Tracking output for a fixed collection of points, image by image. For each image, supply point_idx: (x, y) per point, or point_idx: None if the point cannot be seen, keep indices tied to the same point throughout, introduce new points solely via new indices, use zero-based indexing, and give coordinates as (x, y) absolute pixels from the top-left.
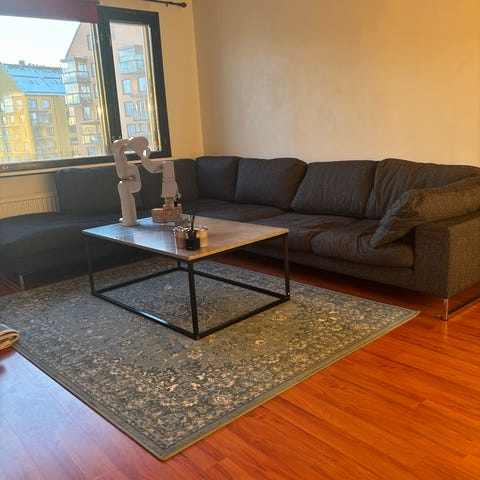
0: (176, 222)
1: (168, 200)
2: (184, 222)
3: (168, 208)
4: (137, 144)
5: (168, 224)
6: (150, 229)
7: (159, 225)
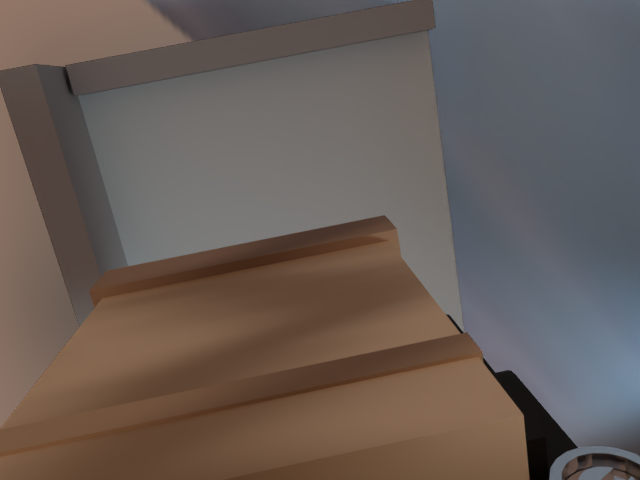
0: (2, 92)
1: (261, 450)
2: None
3: (299, 265)
4: None
5: (360, 214)
6: (591, 25)
7: (398, 4)
